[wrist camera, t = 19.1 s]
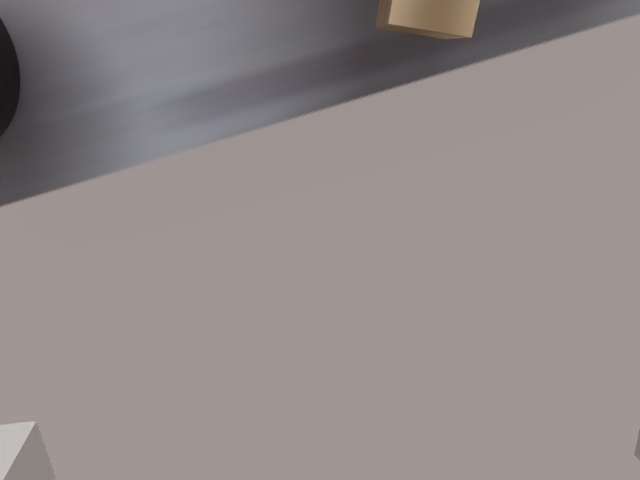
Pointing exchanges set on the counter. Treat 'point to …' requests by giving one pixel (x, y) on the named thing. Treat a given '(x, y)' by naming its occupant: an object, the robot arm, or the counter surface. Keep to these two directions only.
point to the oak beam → (429, 17)
